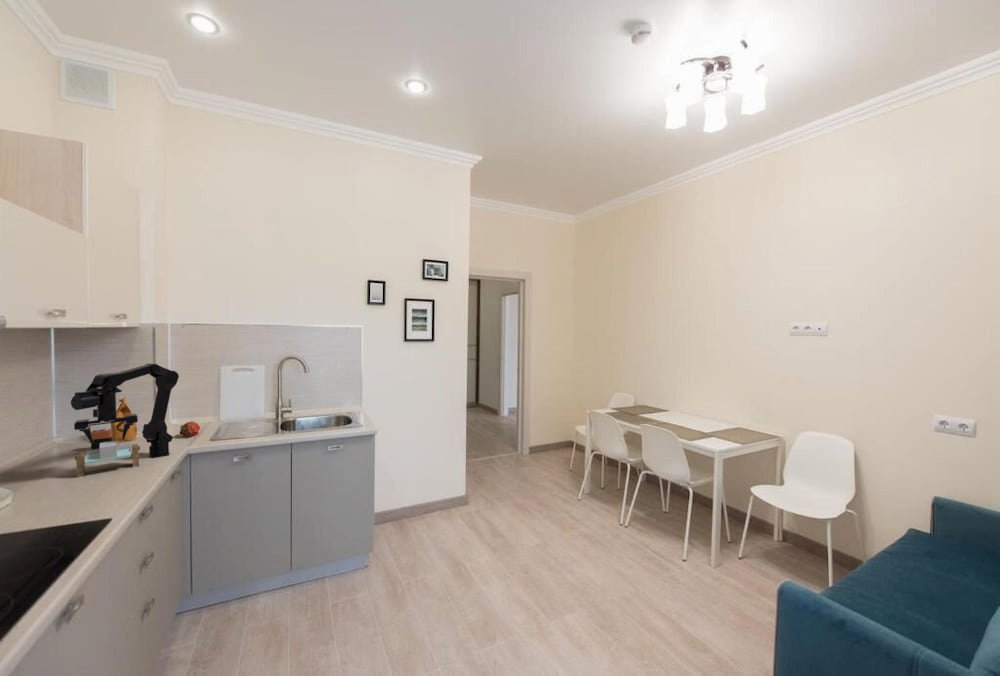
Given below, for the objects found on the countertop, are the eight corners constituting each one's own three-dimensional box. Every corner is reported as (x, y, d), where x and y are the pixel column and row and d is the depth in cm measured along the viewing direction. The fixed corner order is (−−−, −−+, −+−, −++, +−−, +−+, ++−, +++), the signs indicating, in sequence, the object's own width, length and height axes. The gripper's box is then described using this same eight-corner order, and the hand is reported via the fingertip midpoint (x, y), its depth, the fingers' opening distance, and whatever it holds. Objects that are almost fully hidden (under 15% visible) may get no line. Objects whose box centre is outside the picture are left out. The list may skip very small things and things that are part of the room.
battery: (93, 449, 198) (92, 428, 197) (112, 446, 201) (111, 426, 201) (91, 451, 194) (90, 430, 193) (110, 449, 198) (109, 428, 197)
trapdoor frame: (140, 462, 181) (139, 443, 180) (140, 465, 177) (140, 446, 177) (75, 474, 167) (75, 453, 167) (74, 477, 164) (74, 456, 163)
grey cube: (116, 451, 174) (116, 440, 173) (116, 456, 170) (116, 445, 169) (100, 454, 170) (99, 442, 169) (100, 459, 167) (99, 448, 166)
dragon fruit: (186, 442, 214) (190, 439, 225) (202, 431, 218) (205, 428, 229) (174, 430, 213) (178, 428, 223) (190, 419, 216) (194, 417, 227)
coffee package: (110, 444, 205) (108, 400, 204) (112, 438, 215) (110, 396, 214) (136, 440, 212) (135, 398, 210) (137, 434, 221) (136, 394, 220)
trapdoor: (130, 450, 181) (130, 444, 180) (130, 461, 173) (130, 454, 173) (86, 457, 172) (86, 450, 171) (85, 468, 164) (84, 462, 164)
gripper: (136, 398, 181) (137, 433, 182) (75, 404, 168) (77, 441, 169) (137, 402, 173) (138, 439, 174) (73, 409, 160) (75, 448, 161)
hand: (108, 441), depth 170 cm, fingers open, 9 cm apart
